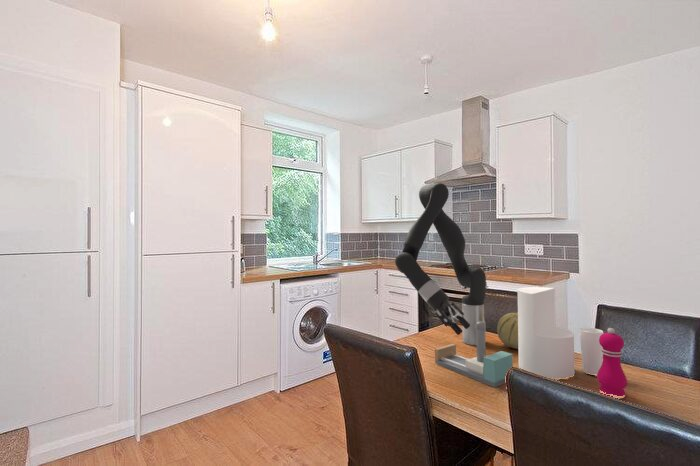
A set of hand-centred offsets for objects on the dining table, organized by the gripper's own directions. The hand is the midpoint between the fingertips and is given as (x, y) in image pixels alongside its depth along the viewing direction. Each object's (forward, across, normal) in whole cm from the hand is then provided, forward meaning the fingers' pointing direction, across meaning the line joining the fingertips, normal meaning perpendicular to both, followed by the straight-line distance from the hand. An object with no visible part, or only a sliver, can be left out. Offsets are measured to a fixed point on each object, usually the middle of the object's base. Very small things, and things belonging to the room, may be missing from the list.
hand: (464, 330), depth 123 cm
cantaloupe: (+17, +36, +4) cm, 40 cm away
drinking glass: (+36, +22, -15) cm, 45 cm away
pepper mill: (+40, +7, -19) cm, 45 cm away
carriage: (+12, 0, +4) cm, 13 cm away
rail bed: (+12, +1, +9) cm, 15 cm away
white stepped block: (+27, +17, -6) cm, 32 cm away
